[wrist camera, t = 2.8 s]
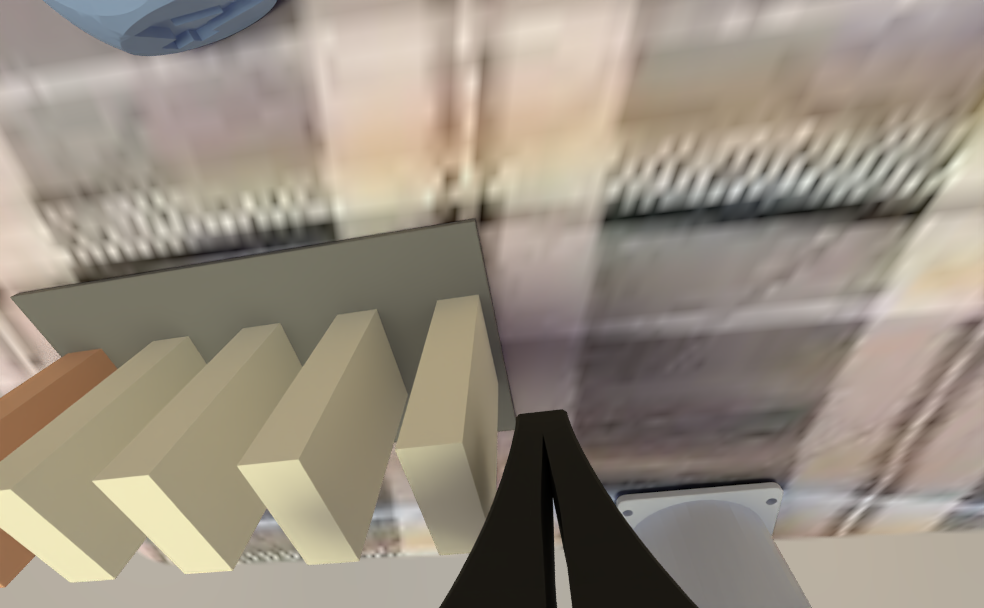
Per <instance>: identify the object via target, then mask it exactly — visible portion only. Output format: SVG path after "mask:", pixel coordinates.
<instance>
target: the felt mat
mask: <svg viewBox="0 0 984 608" xmlns="http://www.w3.org/2000/svg"><path fill="white" fill-rule="evenodd" d="M472 295H479V298H480V303H481V307H482V312H483V316H484V321H485V325H486V330H487V335H488V339H489V344H490V348H491V353H492V357H493V362H494V367H495V371H496V376H497V380H498V428H497V432H498V431H508V430H515V425H516V417H515V412H514V407H513V402H512V398H511V393H510V388H509V383H508V378H507V373H506V368H505V363H504V358H503V353H502V348H501V343H500V338H499V334H498V329H497V324H496V319H495V314H494V309H493V304H492V299H491V294H490V289H489V284H488V279H487V274H486V270H485V265H484V260H483V255H482V250H481V245H480V240H479V235H478V230H477V225H476V220H475V219H470V220H464V221H458V222H452V223H446V224H439V225H433V226H427V227H421V228H415V229H409V230H403V231H397V232H391V233H384V234H378V235H372V236H366V237H360V238H354V239H348V240H342V241H336V242H329V243H323V244H317V245H311V246H305V247H299V248H293V249H287V250H281V251H274V252H268V253H262V254H256V255H250V256H244V257H238V258H232V259H226V260H219V261H213V262H207V263H201V264H195V265H189V266H183V267H177V268H171V269H164V270H158V271H152V272H146V273H140V274H134V275H128V276H122V277H116V278H109V279H103V280H97V281H91V282H85V283H79V284H73V285H67V286H61V287H55V288H48V289H42V290H36V291H30V292H24V293H18V294H16V295H14V296H12V297H10V298H11V299H12V300H13V301H14V302H15V304H16V305H17V306H18V307H19V308H20V309H21V310H22V312H23V313H24V314H25V315H26V316H27V317H28V319H29V320H30V321H31V322H32V323H33V324H34V326H35V327H36V328H37V329H38V330H39V331H40V333H41V334H42V335H43V336H44V337H45V338H46V339H47V341H48V342H49V343H50V344H51V345H52V346H53V348H54V349H55V350H56V351H57V352H58V353H59V355H60V356H61V357H63V356H65V355H66V354H68V353H74V352H81V351H88V350H95V349H102V350H103V351H104V353H105V354H106V355H107V356H108V358H109V359H110V360H111V361H112V363H113V364H114V365H115V366H116V368H117V369H118V368H120V367H121V366H122V365H123V364H125V363H126V362H127V361H128V360H130V359H131V358H132V357H134V356H135V355H136V354H137V353H139V352H140V351H141V350H142V349H144V348H145V347H146V346H147V345H149V344H150V343H151V342H153V341H158V340H165V339H171V338H178V337H185V336H189V338H190V339H191V341H192V343H193V344H194V346H195V347H196V349H197V350H198V352H199V353H200V355H201V356H202V358H203V359H204V361H205V362H206V364H208V363H209V362H210V361H211V360H212V359H213V358H214V357H215V356H216V355H217V354H218V353H219V352H220V351H221V350H222V349H223V348H224V347H225V346H226V345H227V344H228V343H229V342H230V341H231V340H232V339H233V338H234V337H235V336H236V335H237V334H238V333H239V332H240V331H241V330H242V329H243V328H248V327H255V326H262V325H269V324H276V323H280V324H281V326H282V328H283V330H284V332H285V334H286V336H287V338H288V340H289V342H290V344H291V346H292V348H293V350H294V352H295V353H296V355H297V357H298V359H299V361H300V363H301V365H302V367H303V366H304V364H305V363H306V361H307V360H308V358H309V357H310V355H311V354H312V352H313V351H314V349H315V348H316V346H317V345H318V343H319V342H320V340H321V339H322V337H323V336H324V334H325V332H326V331H327V329H328V328H329V326H330V325H331V323H332V322H333V320H334V319H335V317H336V316H337V315H339V314H346V313H353V312H360V311H367V310H374V309H377V312H378V314H379V317H380V320H381V323H382V325H383V328H384V331H385V333H386V336H387V339H388V342H389V344H390V347H391V350H392V353H393V355H394V358H395V361H396V364H397V366H398V369H399V372H400V374H401V377H402V380H403V383H404V385H405V388H406V391H407V394H408V396H407V400H406V403H405V406H404V410H403V413H402V417H401V420H400V424H399V427H398V430H397V434H396V437H395V441H394V442H397V440H398V437H399V433H400V430H401V426H402V423H403V419H404V416H405V412H406V409H407V405H408V401H409V398H410V394H411V391H412V387H413V384H414V380H415V377H416V373H417V370H418V366H419V363H420V359H421V356H422V352H423V349H424V345H425V342H426V338H427V335H428V331H429V328H430V324H431V320H432V317H433V313H434V310H435V306H436V303H437V300H444V299H451V298H458V297H465V296H472Z"/></svg>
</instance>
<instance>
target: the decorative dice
mask: <svg viewBox="0 0 984 608" xmlns="http://www.w3.org/2000/svg"><path fill="white" fill-rule="evenodd" d="M43 1H44V2H45V3H47V4H48V5H49V6H50V7H51V8H53V9H54V10H55V11H56V12H58V13H59V14H60V15H61V16H63V17H64V18H65V19H67V20H68V21H70V22H71V23H72V24H74V25H75V26H77V27H78V28H80V29H81V30H83V31H84V32H86V33H88V34H90V35H91V36H93V37H95V38H97V39H98V40H100V41H102V42H104V43H106V44H109V45H111V46H113V47H115V48H118V49H120V50H123V51H125V52H127V53H130V54H134V55H140V56H157V55H166V54H173V53H178V52H183V51H187V50H191V49H194V48H198V47H201V46H204V45H207V44H210V43H213V42H216V41H218V40H221V39H223V38H226V37H228V36H230V35H232V34H235V33H237V32H239V31H241V30H243V29H244V28H246V27H248V26H250V25H251V24H253V23H255V22H256V21H258V20H259V19H260V18H262V17H263V16H264V15H265V14H267V13H268V12H269V11H270V10H271V9H272V8H273V6H274V5H275V3H276V2H277V0H43Z"/></svg>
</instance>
